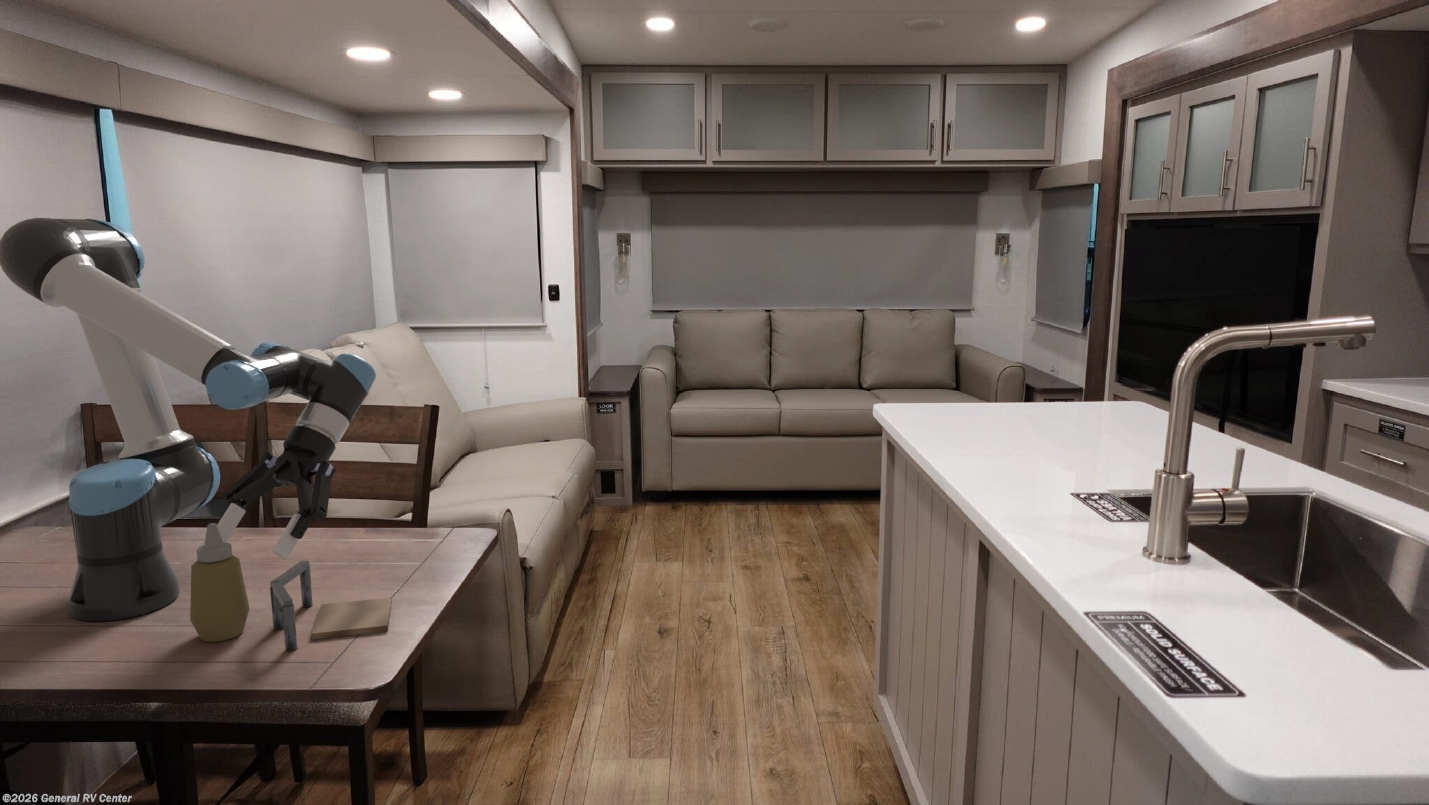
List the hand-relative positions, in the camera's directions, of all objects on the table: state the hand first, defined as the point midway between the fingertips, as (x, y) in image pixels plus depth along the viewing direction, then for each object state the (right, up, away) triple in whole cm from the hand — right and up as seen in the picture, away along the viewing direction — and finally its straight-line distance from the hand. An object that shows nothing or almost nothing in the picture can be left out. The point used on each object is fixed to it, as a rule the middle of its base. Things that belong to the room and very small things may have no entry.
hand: (247, 549), depth 132 cm
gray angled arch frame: (+5, -13, +2) cm, 14 cm away
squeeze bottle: (-3, -13, -1) cm, 14 cm away
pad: (+15, -12, +5) cm, 20 cm away
